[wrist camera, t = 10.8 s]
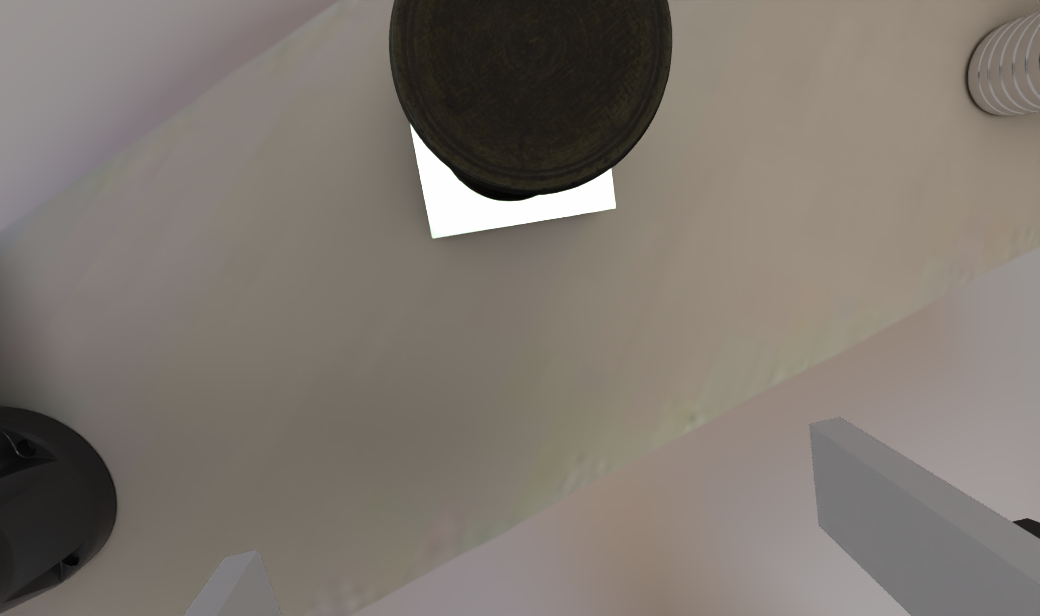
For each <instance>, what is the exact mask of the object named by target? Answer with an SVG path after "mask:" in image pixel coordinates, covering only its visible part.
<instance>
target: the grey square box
mask: <svg viewBox="0 0 1040 616" xmlns="http://www.w3.org/2000/svg"><path fill="white" fill-rule="evenodd" d="M410 126H411V124H410ZM411 131H412V136H413V141H414V147H415V152H416V157H417V162H418V167H419V172H420V177H421V182H422V188H423V193H424V198H425V203H426V208H427V213H428V218H429V223H430V229H431V234H432V239H433V238H439V237H445V236H451V235H457V234H463V233H469V232H475V231H481V230H487V229H493V228H499V227H505V226H511V225H517V224H523V223H529V222H535V221H541V220H547V219H553V218H560V217H566V216H572V215H578V214H584V213H590V212H596V211H602V210H608V209H614V208H616V206H615V197H614V189H613V180H612V172H611V169H610V170H608V171H607V172H605V173H604V174H602V175H601V176H599V177H598V178H596V179H594V180H592V181H590V182H588V183H586V184H584V185H582V186H579V187H576V188H574V189H571V190H568V191H564V192H559V193H555V194H548V195H538V196H535V197H533V198H530V199H526V200H522V201H498V200H493V199H489V198H486V197H484V196H481V195H479V194H477V193H476V192H474V191H472V190H471V189H469V188H468V187H467V186H465V185H464V184H463V183H462V182H461V181H460V180H459V179H458V178H457V177H456V176H455V175H454V174H453V172H452V171H451V170H450V168H448V167H447V166H446V165H445V164H443V163H442V162H441V161H440V160H439V159H438V158H437V157H436V156H435V155H434V154H433V153H432V152H431V151H430V150H429V149H428V148H427V147H426V145H425V144H424V143H423V142H422V140H421V139H420V138H419V136H418V135H417V134H416V132H415V130H414V129H413V127H412V126H411Z"/></svg>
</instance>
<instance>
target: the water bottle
mask: <svg viewBox="0 0 1040 616" xmlns="http://www.w3.org/2000/svg"><path fill="white" fill-rule="evenodd" d="M968 87H969V91H970V93H971V96H972V98H973V99H974V101H975V102H976V104H977V105H978V106H979V107H980V108H982V109H983V110H985V111H986V112H988V113H991V114H994V115H1000V116H1016V115H1026V114H1032V113H1039V112H1040V11H1037V12H1034V13H1031V14H1028V15H1025V16H1022V17H1020V18H1017V19H1015V20H1012V21H1010V22H1008V23H1005V24H1004V25H1002V26H1000V27H998V28H996V29H995V30H993V31H992V32H991V33H990V34H988V35H987V36H986V37H985V38H984V39H983V40H982V42H981V43H980V44H979V45H978V47H977V48H976V50H975V52H974V54H973V56H972V58H971V61H970V64H969V69H968Z"/></svg>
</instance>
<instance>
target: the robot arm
mask: <svg viewBox="0 0 1040 616" xmlns="http://www.w3.org/2000/svg"><path fill="white" fill-rule="evenodd" d="M809 427H810V438H811V448H812V459H813V470H814V481H815V491H816V502H817V511H818V523H819V526H820V527H821V528H822V529H823V530H824V531H825V532H826V533H827V534H828V535H829V536H830V537H831V538H832V539H833V540H834V541H836V543H837V544H838V545H839V546H840V547H841V548H842V549H844V551H846V552H847V553H848V554H849V555H850V556H851V557H852V558H853V559H854V560H855V561H856V562H857V563H858V564H859V565H860V566H861V567H862V568H863V569H864V570H865V571H866V572H867V573H868V574H869V575H870V576H871V577H872V578H873V579H874V580H875V581H876V582H877V583H878V584H879V585H880V586H881V587H883V589H885V590H886V591H887V592H888V593H889V594H890V595H891V596H892V597H893V598H894V599H895V600H896V601H897V602H898V603H899V604H900V605H901V606H902V607H903V608H904V609H905V610H906V611H907V612H908V613H909V614H910V615H911V616H1040V523H1039V522H1036V521H1034V520H1031V519H1028V518H1026V519H1022V520H1018V521H1013V522H1011V521H1010V520H1008V519H1006V518H1004V517H1003V516H1001V515H1000V514H998V513H996V512H995V511H993V510H991V509H990V508H988V507H987V506H985V505H983V504H982V503H980V502H979V501H977V500H975V499H973V498H972V497H970V496H968V495H967V494H965V493H964V492H962V491H960V490H959V489H957V488H956V487H954V486H952V485H951V484H949V483H948V482H946V481H944V480H943V479H941V478H939V477H938V476H936V475H934V474H933V473H931V472H930V471H928V470H926V469H925V468H923V467H921V466H920V465H918V464H916V463H915V462H913V461H912V460H910V459H908V458H907V457H905V456H903V455H902V454H900V453H899V452H897V451H895V450H893V449H892V448H890V447H889V446H887V445H886V444H884V443H882V442H881V441H879V440H877V439H876V438H874V437H872V436H871V435H869V434H867V433H866V432H864V431H863V430H861V429H859V428H858V427H856V426H854V425H853V424H851V423H850V422H848V421H846V420H844V419H843V418H841V417H838V418H834V419H829V420H825V421H820V422H816V423H811V424H809ZM115 510H116V503H115V494H114V489H113V485H112V482H111V479H110V477H109V474H108V472H107V470H106V468H105V466H104V465H103V463H102V461H101V460H100V459H99V457H98V456H97V454H96V453H95V452H94V451H93V450H92V448H91V447H90V446H89V445H88V444H87V443H86V442H85V441H84V440H83V439H81V438H80V437H79V436H78V435H77V434H75V433H74V432H73V431H71V430H70V429H68V428H67V427H65V426H63V425H62V424H60V423H58V422H56V421H54V420H52V419H50V418H47V417H45V416H42V415H40V414H37V413H33V412H30V411H26V410H21V409H14V408H3V407H0V613H2V612H4V611H7V610H9V609H11V608H13V607H15V606H17V605H19V604H21V603H23V602H25V601H27V600H29V599H31V598H34V597H36V596H38V595H40V594H42V593H44V592H46V591H48V590H50V589H52V588H54V587H56V586H58V585H59V584H61V583H63V582H64V581H66V580H67V579H69V578H70V577H71V576H72V575H74V574H75V573H76V572H77V571H78V570H79V569H80V568H81V567H83V566H84V565H85V564H86V563H87V562H88V561H89V560H90V559H91V558H93V557H94V556H95V555H96V554H97V553H98V552H99V550H100V549H101V548H102V547H103V545H104V544H105V542H106V541H107V539H108V537H109V535H110V532H111V530H112V527H113V524H114V519H115ZM183 616H282V614H281V612H280V609H279V606H278V603H277V601H276V598H275V595H274V592H273V590H272V587H271V584H270V581H269V579H268V576H267V573H266V570H265V568H264V565H263V562H262V559H261V556H260V554H259V551H258V550H254V551H250V552H245V553H241V554H236V555H232V556H228V557H225V558H224V559H223V560H222V562H221V563H220V565H219V566H218V567H217V569H216V570H215V572H214V573H213V574H212V576H211V577H210V579H209V580H208V581H207V583H206V584H205V586H204V587H203V588H202V590H201V591H200V593H199V594H198V595H197V597H196V598H195V600H194V601H193V602H192V604H191V605H190V607H189V608H188V609H187V611H186V612H185V614H184V615H183Z"/></svg>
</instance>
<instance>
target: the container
mask: <svg viewBox="0 0 1040 616" xmlns="http://www.w3.org/2000/svg"><path fill="white" fill-rule="evenodd" d="M389 53H390V64H391V70H392V76H393V81H394V85H395V89H396V92H397V95H398V98H399V101H400V104H401V106H402V108H403V111H404V113H405V115H406V117H407V119H408V121H409V122H410V124H411V126H412V127H413V129H414V130H415V132H416V134H417V135H418V136H419V138H420V139H421V140H422V142H423V143H424V144H425V145H426V147H427V148H428V149H429V150H430V151H431V152H432V153H433V154H434V155H435V156H436V157H437V158H438V159H439V160H440V161H441V162H442V163H443V164H445V165H446V166H447V167H448V168H450V170H451V171H452V172H453V174H454V175H455V176H456V177H457V178H458V179H459V180H460V181H461V182H462V183H463V184H464V185H465V186H467V187H468V188H469V189H471V190H472V191H474V192H476V193H477V194H479V195H481V196H484V197H486V198H489V199H493V200H498V201H522V200H526V199H530V198H533V197H535V196H538V195H548V194H555V193H559V192H564V191H568V190H571V189H574V188H576V187H579V186H582V185H584V184H586V183H588V182H590V181H592V180H594V179H596V178H598V177H599V176H601V175H602V174H604V173H605V172H607V171H608V170H610V169H611V168H612V167H614V166H615V165H616V164H617V163H618V162H620V161H621V160H622V159H623V158H624V157H625V156H626V155H627V154H628V153H629V152H630V151H631V150H632V148H633V147H634V146H635V145H636V144H637V142H638V141H639V140H640V139H641V137H642V136H643V134H644V133H645V132H646V130H647V129H648V127H649V125H650V123H651V122H652V120H653V118H654V116H655V114H656V112H657V110H658V108H659V105H660V103H661V100H662V97H663V94H664V91H665V88H666V84H667V81H668V77H669V71H670V64H671V54H672V25H671V16H670V10H669V5H668V1H667V0H395V1H394V5H393V9H392V15H391V21H390V31H389Z"/></svg>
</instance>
